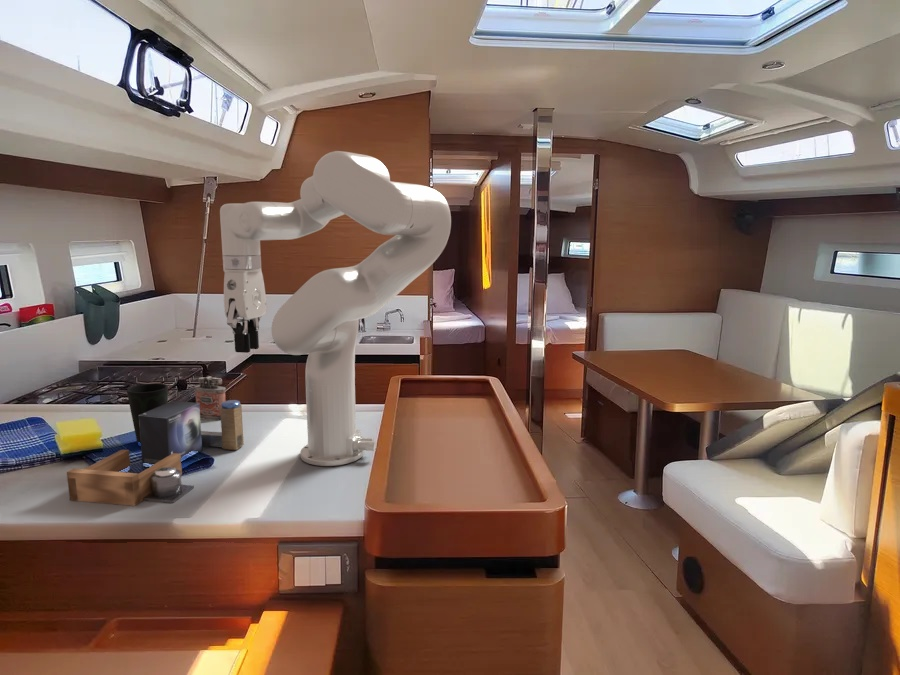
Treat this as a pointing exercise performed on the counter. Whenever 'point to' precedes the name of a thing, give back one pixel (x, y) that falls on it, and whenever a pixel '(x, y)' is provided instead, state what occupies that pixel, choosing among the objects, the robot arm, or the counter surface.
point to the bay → (115, 480)
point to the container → (227, 428)
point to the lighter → (210, 397)
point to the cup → (145, 401)
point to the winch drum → (167, 486)
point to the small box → (170, 431)
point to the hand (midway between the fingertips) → (247, 349)
